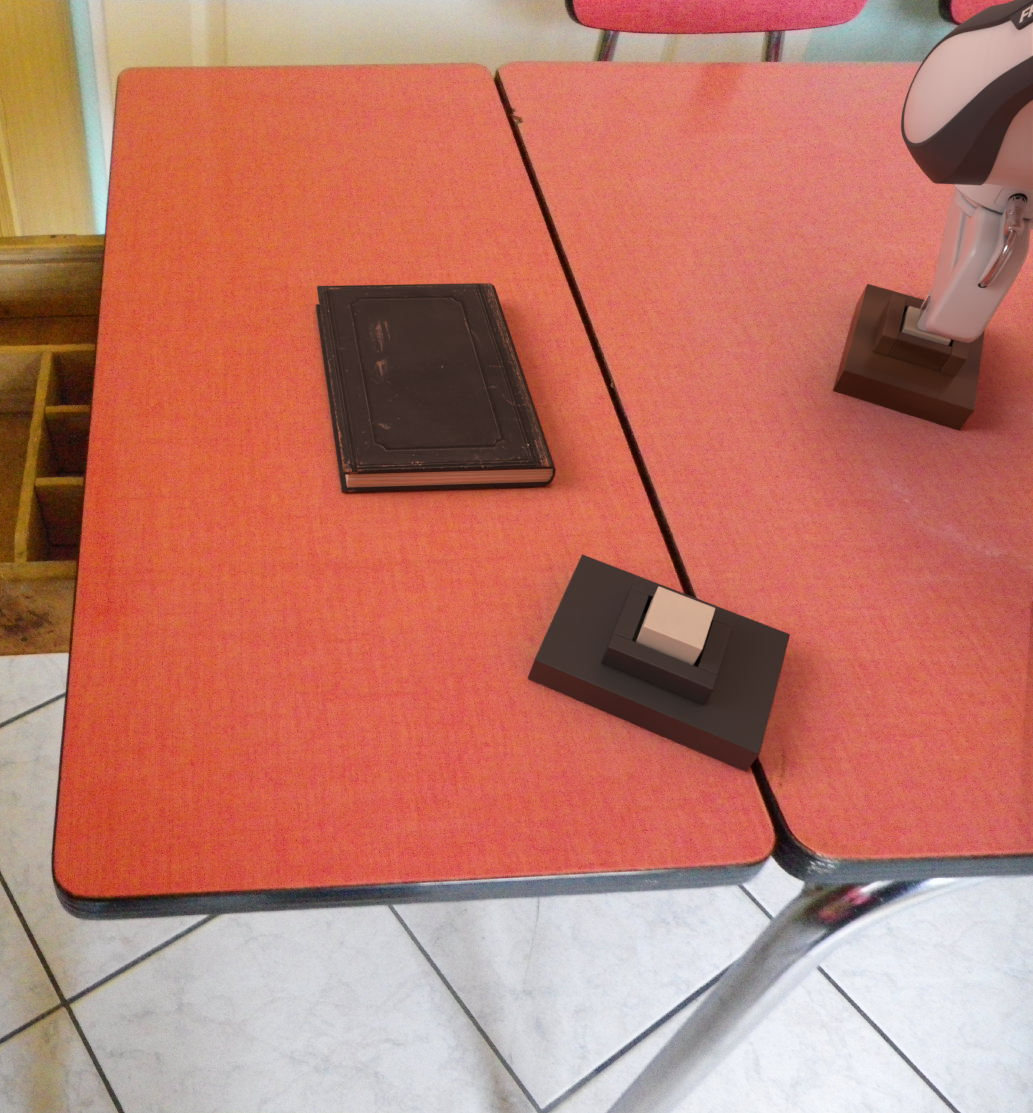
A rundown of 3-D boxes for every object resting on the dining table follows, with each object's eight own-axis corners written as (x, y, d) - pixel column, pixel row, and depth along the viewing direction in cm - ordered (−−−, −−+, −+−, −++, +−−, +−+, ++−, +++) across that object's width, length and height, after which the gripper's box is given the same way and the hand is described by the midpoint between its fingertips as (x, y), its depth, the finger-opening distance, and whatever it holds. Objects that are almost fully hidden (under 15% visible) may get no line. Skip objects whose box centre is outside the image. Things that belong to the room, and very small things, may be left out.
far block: (856, 303, 94) (876, 266, 91) (973, 337, 91) (998, 299, 88) (832, 390, 85) (853, 352, 82) (959, 430, 83) (987, 393, 80)
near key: (706, 624, 65) (715, 607, 63) (692, 666, 62) (702, 649, 61) (650, 602, 66) (658, 585, 64) (635, 642, 64) (643, 626, 62)
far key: (899, 322, 88) (909, 305, 86) (943, 335, 87) (954, 318, 85) (894, 345, 86) (904, 328, 84) (939, 358, 85) (950, 341, 83)
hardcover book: (341, 493, 76) (344, 471, 74) (315, 307, 91) (317, 285, 89) (551, 487, 77) (558, 465, 75) (492, 304, 92) (496, 282, 90)
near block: (777, 653, 68) (801, 617, 65) (746, 772, 62) (771, 738, 59) (574, 574, 72) (588, 536, 69) (527, 678, 66) (540, 642, 63)
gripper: (1068, 249, 67) (958, 407, 78) (1074, 120, 79) (977, 272, 90) (966, 222, 69) (871, 380, 80) (987, 100, 81) (902, 252, 92)
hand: (928, 322), depth 85 cm, fingers closed, pressing on far key
